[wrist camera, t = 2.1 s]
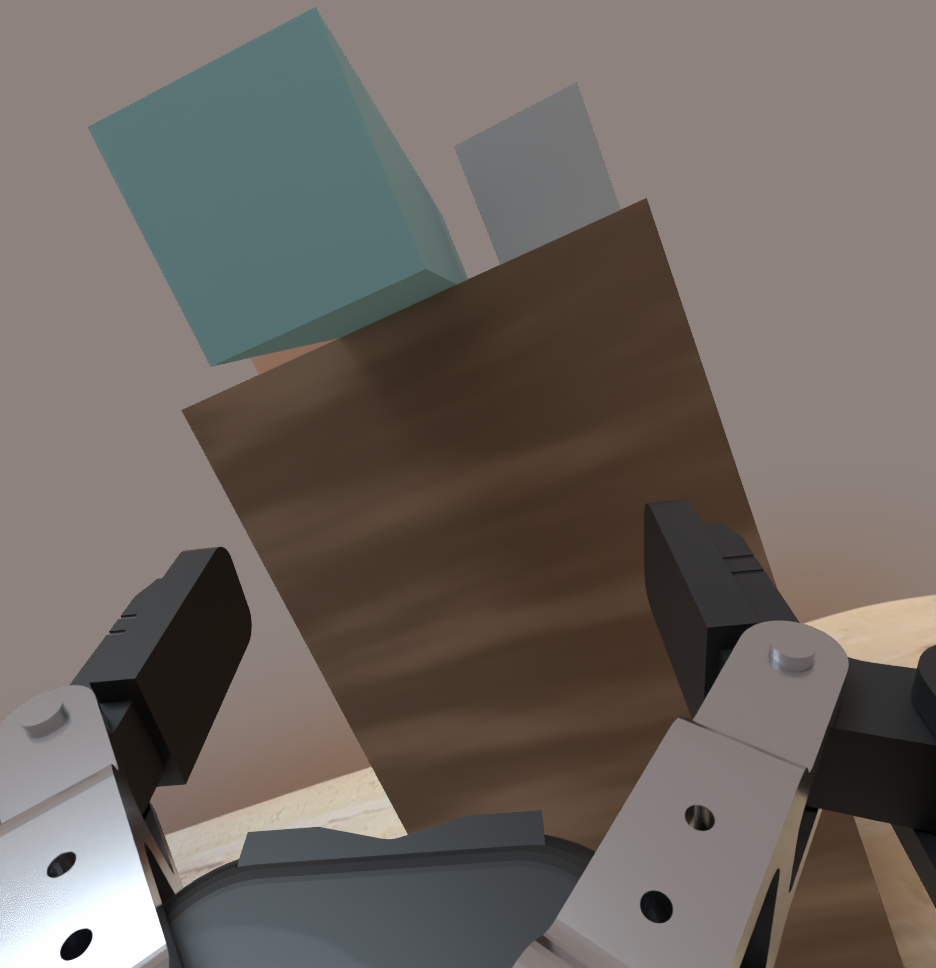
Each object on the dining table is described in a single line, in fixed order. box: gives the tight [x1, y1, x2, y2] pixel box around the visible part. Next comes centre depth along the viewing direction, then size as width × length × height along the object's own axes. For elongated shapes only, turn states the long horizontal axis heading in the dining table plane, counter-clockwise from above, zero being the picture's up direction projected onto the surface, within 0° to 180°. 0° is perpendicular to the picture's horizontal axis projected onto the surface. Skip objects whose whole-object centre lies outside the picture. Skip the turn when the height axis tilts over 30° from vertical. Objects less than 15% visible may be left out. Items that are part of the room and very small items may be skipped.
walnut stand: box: [182, 198, 904, 968], centre depth 31 cm, size 15×16×32 cm
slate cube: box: [454, 82, 621, 265], centre depth 25 cm, size 4×4×4 cm
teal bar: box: [88, 7, 468, 366], centre depth 22 cm, size 24×4×4 cm, turn 178°
